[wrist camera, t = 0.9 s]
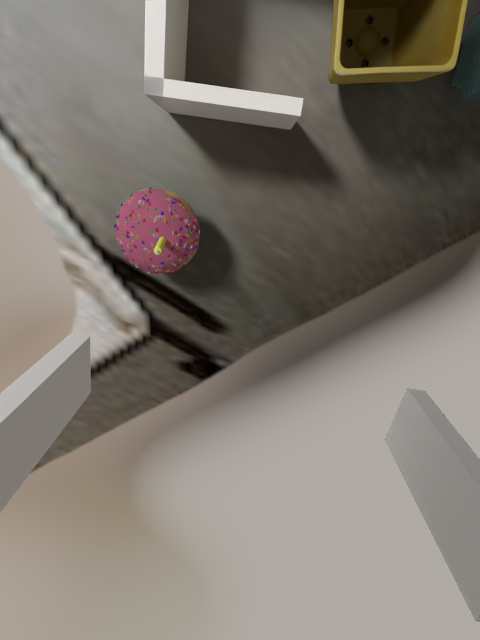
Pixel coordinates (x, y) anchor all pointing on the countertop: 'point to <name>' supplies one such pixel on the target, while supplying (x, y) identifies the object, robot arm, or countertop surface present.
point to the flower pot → (394, 39)
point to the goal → (193, 98)
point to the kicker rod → (469, 64)
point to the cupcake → (157, 230)
